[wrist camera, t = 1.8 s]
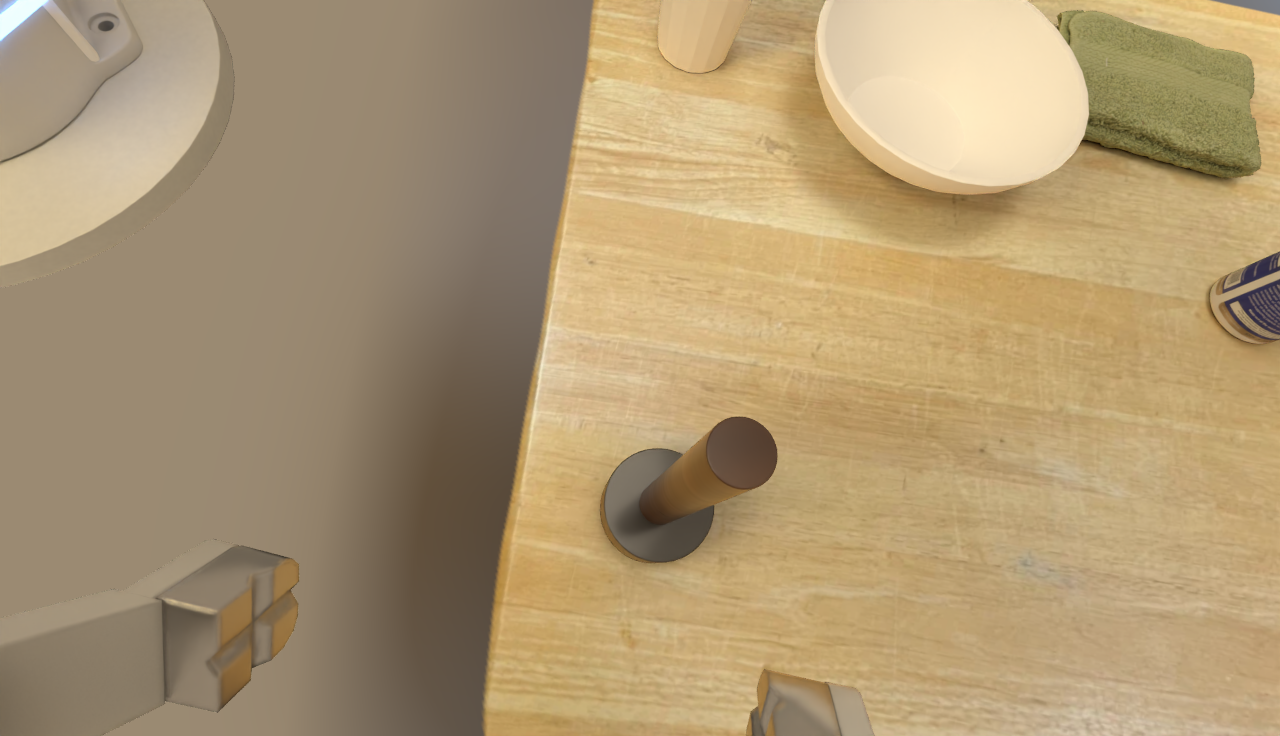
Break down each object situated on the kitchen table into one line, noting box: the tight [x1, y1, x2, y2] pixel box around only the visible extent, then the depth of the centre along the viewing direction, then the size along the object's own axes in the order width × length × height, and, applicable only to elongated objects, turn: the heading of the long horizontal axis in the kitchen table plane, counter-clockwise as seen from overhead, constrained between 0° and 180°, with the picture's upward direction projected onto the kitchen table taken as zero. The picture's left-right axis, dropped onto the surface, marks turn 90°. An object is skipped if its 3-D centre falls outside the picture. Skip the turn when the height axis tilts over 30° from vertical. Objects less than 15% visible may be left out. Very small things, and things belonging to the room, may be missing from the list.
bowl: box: [814, 0, 1089, 195], centre depth 43 cm, size 20×20×7 cm
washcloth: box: [1057, 10, 1261, 179], centre depth 49 cm, size 13×18×3 cm
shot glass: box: [657, 0, 752, 73], centre depth 43 cm, size 7×7×7 cm
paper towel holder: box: [600, 417, 777, 563], centre depth 26 cm, size 6×6×18 cm
